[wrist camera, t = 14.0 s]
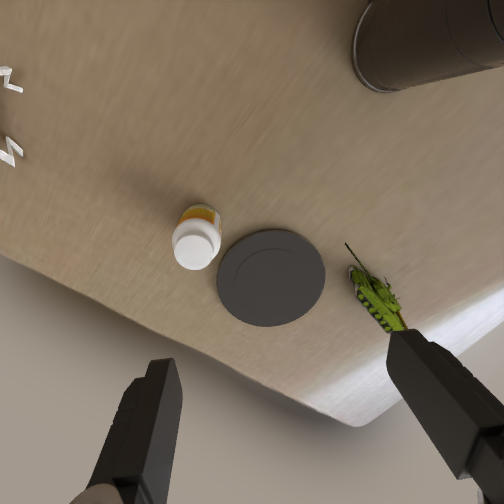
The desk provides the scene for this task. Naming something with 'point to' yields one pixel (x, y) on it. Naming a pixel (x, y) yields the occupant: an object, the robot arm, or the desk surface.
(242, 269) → the plate
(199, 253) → the supplement bottle
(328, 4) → the desk surface
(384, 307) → the toy tank
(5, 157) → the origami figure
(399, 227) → the desk surface
